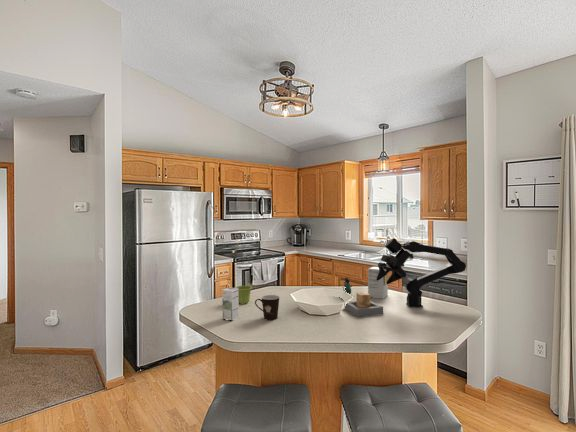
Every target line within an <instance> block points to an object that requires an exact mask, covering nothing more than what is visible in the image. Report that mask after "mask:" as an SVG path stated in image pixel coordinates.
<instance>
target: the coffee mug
mask: <svg viewBox="0 0 576 432" xmlns="http://www.w3.org/2000/svg"><path fill="white" fill-rule="evenodd" d="M257 301H260V302H261V304H262V308H261V307H259V305H258V303H257ZM254 305H255V306H256V307H257V308H258V309H259V310H260V311H262V312H263V319H264V320H265V319H267V320H266V321H275V320H277V319H278V314H279V307H280V296H279V295H275V294H267V295H262V296H261V298H256V300H255V301H254Z"/></svg>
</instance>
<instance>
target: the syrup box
mask: <svg viewBox="0 0 576 432" xmlns="http://www.w3.org/2000/svg"><path fill="white" fill-rule="evenodd" d="M221 294H222V295H221V296H222V320H223V319H228V320H234V319H236V318H238V317H240V312H239V310H240V308H239V307H240V306H239V302H238V288H235V287H226V288H224V289H223V288H222V289H221ZM238 319H239V318H238ZM228 320H227V321H228ZM236 320H237V319H236ZM234 321H235V320H234Z"/></svg>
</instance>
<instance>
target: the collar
mask: <svg viewBox="0 0 576 432" xmlns="http://www.w3.org/2000/svg"><path fill="white" fill-rule="evenodd" d="M348 302H349V303H347V304H346V306H345V305H344V309H345V310H346V311H347V312H349V313H351V314H353V315H354V316H355V317H357V318H362V317H369V316H378V315H380V316H381V315H384V306H383V305H380V304H378V303H376V302H374V301H372V300H370V307H366V308H358V307H357V301H356V300H353V301H348Z"/></svg>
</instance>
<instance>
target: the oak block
mask: <svg viewBox="0 0 576 432" xmlns="http://www.w3.org/2000/svg"><path fill="white" fill-rule="evenodd" d="M355 296H356V298H355V299H356V300H355V301H357V307H358V308H366V307H370V301H371V297H370V294H368V292H366V291H363V292H356V295H355Z"/></svg>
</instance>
